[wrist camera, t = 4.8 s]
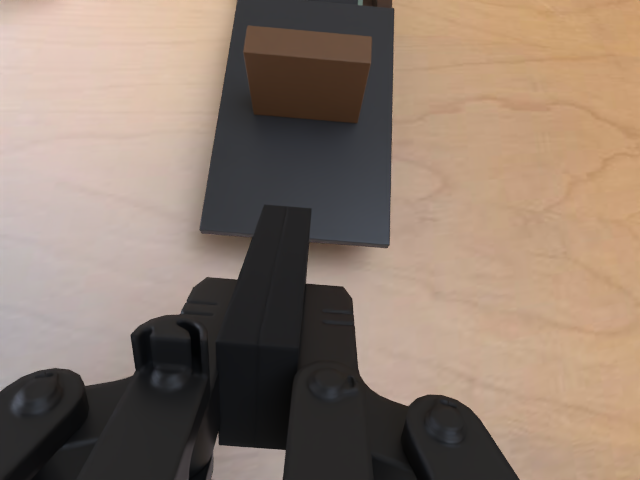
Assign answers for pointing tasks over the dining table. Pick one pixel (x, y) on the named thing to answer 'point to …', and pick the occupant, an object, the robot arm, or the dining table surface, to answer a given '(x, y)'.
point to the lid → (305, 121)
